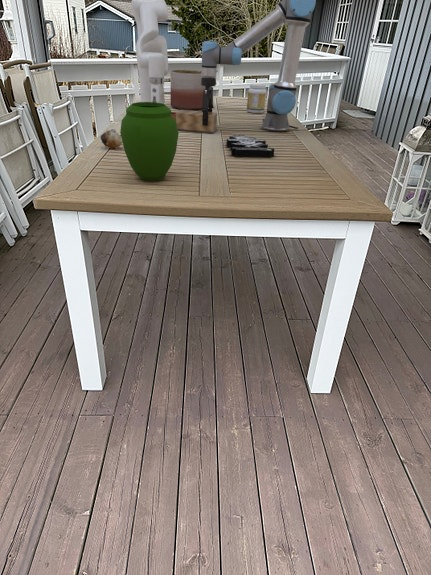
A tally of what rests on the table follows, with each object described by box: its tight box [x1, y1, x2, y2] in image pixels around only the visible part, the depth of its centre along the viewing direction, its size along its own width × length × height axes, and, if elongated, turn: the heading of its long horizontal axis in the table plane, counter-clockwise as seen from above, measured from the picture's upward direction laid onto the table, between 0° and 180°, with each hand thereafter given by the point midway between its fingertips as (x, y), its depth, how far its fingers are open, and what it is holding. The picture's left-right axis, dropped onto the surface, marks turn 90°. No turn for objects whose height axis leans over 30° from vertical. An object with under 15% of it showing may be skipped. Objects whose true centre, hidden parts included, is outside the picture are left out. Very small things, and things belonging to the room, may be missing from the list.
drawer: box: [171, 111, 178, 120], centre depth 220 cm, size 24×10×7 cm, turn 80°
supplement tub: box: [246, 83, 267, 114], centre depth 274 cm, size 12×12×17 cm
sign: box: [225, 134, 275, 158], centre depth 189 cm, size 19×3×30 cm
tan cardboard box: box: [176, 109, 218, 135], centre depth 218 cm, size 20×11×9 cm, turn 80°
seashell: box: [100, 128, 123, 149], centre depth 178 cm, size 10×6×8 cm, turn 91°
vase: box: [119, 101, 179, 182], centre depth 140 cm, size 20×20×24 cm
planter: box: [170, 69, 205, 111], centre depth 276 cm, size 25×25×22 cm
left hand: (157, 119), depth 221 cm, fingers closed
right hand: (207, 123), depth 218 cm, fingers closed on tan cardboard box, 11 cm apart
